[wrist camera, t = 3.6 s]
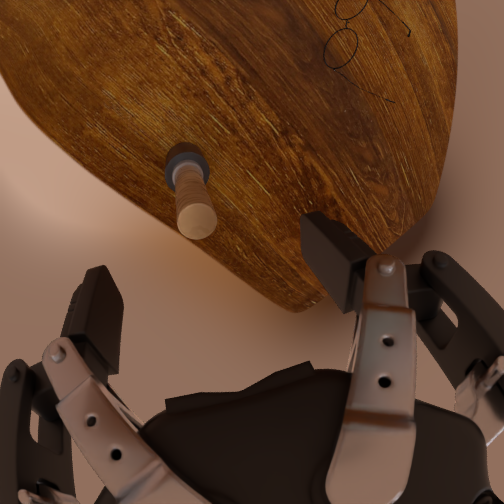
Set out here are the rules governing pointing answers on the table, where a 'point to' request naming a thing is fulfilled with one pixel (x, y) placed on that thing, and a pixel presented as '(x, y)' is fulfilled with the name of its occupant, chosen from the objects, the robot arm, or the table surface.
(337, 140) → the table surface
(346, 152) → the table surface
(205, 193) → the cylinder with wooden handle
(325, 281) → the robot arm
